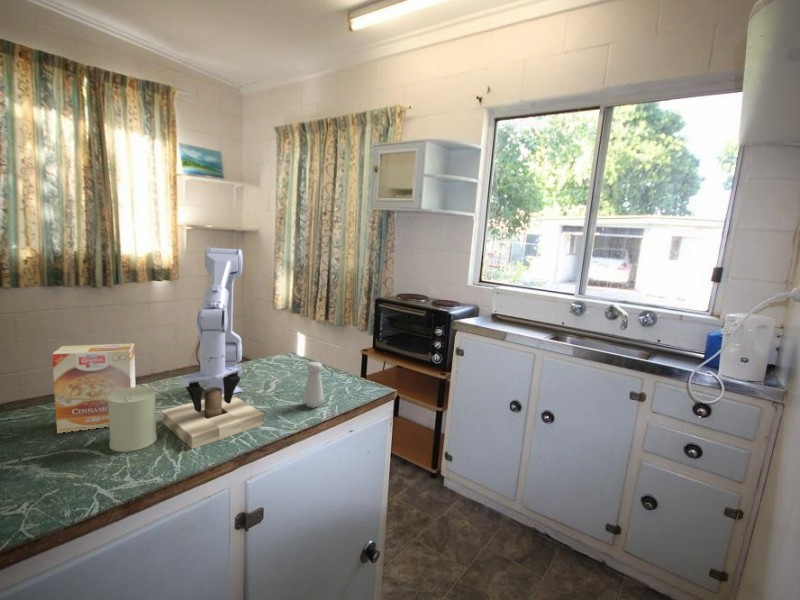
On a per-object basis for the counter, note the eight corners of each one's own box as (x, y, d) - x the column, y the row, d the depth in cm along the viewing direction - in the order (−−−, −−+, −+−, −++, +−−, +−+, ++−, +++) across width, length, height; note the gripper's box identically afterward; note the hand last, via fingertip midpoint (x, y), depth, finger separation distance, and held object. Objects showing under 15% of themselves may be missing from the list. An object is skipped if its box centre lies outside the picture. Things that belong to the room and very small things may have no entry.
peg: (201, 422, 104) (201, 389, 102) (217, 418, 107) (217, 386, 105) (208, 428, 101) (208, 394, 100) (224, 423, 104) (224, 390, 103)
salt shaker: (318, 410, 116) (320, 367, 114) (300, 407, 117) (301, 364, 115) (326, 402, 121) (328, 361, 119) (308, 400, 122) (309, 359, 120)
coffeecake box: (56, 434, 94) (50, 353, 91) (65, 420, 100) (61, 345, 97) (132, 425, 100) (129, 349, 97) (137, 413, 107) (134, 342, 104)
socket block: (161, 421, 103) (161, 410, 102) (229, 402, 117) (229, 392, 116) (192, 448, 92) (192, 436, 91) (263, 424, 105) (263, 413, 105)
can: (105, 455, 87) (103, 402, 85) (112, 435, 95) (110, 387, 93) (155, 447, 91) (154, 397, 89) (158, 429, 99) (157, 382, 97)
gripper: (189, 365, 93) (190, 420, 95) (248, 354, 104) (247, 403, 106) (177, 357, 98) (178, 410, 100) (234, 347, 109) (234, 395, 111)
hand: (213, 406), depth 103 cm, fingers open, 7 cm apart
